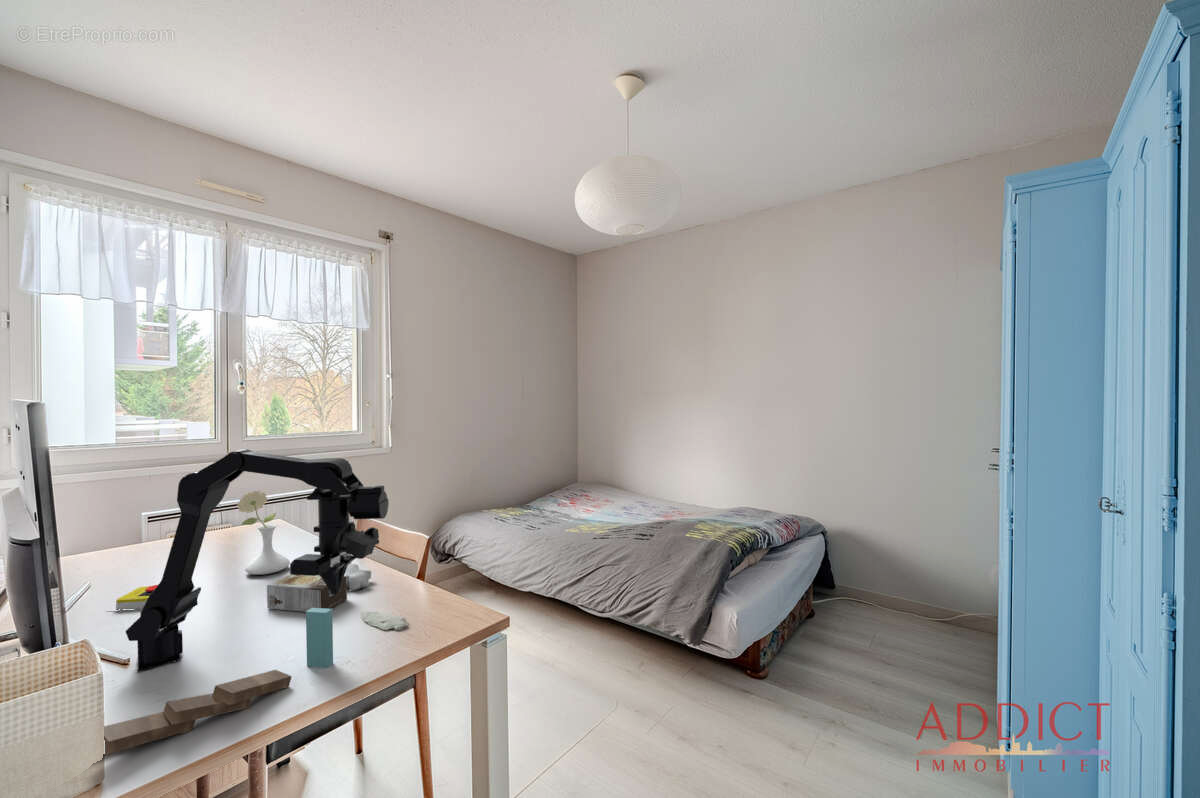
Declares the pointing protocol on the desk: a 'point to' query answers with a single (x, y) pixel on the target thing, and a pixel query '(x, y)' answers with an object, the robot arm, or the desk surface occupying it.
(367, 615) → the stone tool
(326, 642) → the teal domino
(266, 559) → the flower in vase
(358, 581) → the bunny figurine
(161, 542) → the desk surface
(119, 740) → the domino
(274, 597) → the coffee box
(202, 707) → the domino
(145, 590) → the emergency button
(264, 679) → the domino
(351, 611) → the desk surface
